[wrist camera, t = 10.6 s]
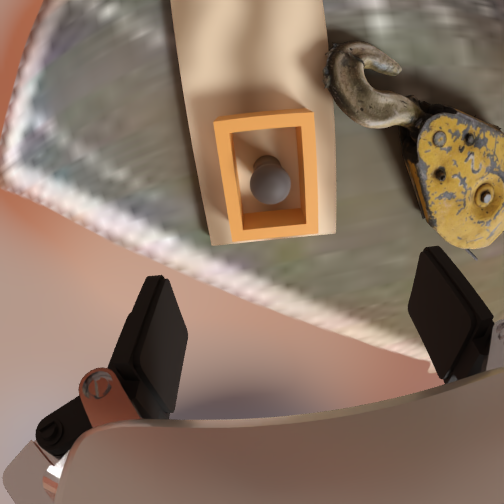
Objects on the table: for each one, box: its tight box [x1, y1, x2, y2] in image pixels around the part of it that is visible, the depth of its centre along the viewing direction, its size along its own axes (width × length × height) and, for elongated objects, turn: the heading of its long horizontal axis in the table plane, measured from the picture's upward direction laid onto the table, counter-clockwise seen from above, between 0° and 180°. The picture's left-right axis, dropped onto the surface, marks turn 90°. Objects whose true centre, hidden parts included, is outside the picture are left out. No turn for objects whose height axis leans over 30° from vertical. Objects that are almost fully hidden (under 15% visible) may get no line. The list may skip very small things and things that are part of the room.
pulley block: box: [322, 41, 504, 260], centre depth 23 cm, size 14×6×30 cm
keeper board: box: [170, 0, 336, 246], centre depth 19 cm, size 12×30×7 cm, turn 7°
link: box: [213, 108, 318, 242], centre depth 24 cm, size 7×10×3 cm
